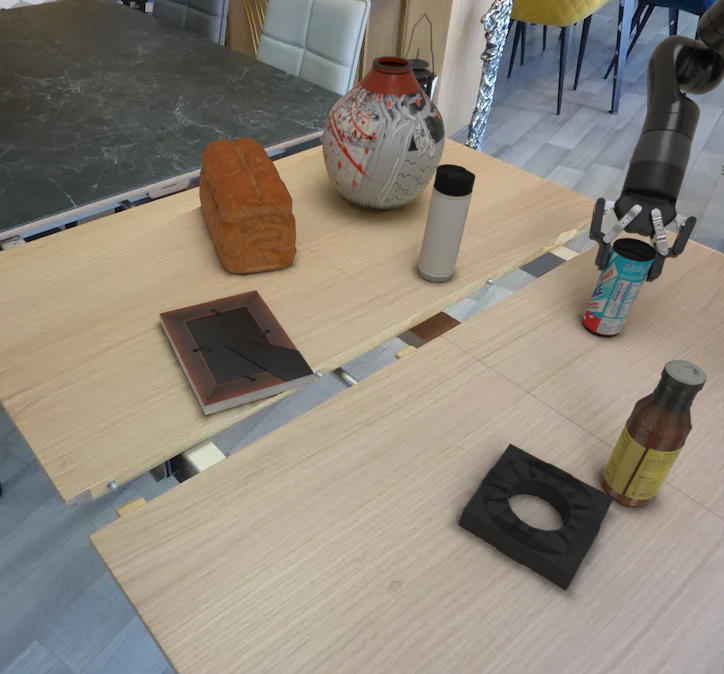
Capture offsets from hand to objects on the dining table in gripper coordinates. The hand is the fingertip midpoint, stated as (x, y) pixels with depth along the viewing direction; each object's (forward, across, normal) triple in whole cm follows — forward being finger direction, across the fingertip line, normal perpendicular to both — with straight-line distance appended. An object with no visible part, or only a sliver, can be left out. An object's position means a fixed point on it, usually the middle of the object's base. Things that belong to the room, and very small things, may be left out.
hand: (625, 274), depth 99 cm
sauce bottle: (+30, +5, -14) cm, 33 cm away
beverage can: (+7, 0, +9) cm, 12 cm away
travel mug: (+5, -28, +12) cm, 31 cm away
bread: (+7, -64, +10) cm, 65 cm away
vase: (-10, -46, +26) cm, 53 cm away
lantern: (-28, -47, +44) cm, 70 cm away
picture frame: (+29, -51, -13) cm, 60 cm away
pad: (+37, -5, -21) cm, 42 cm away
